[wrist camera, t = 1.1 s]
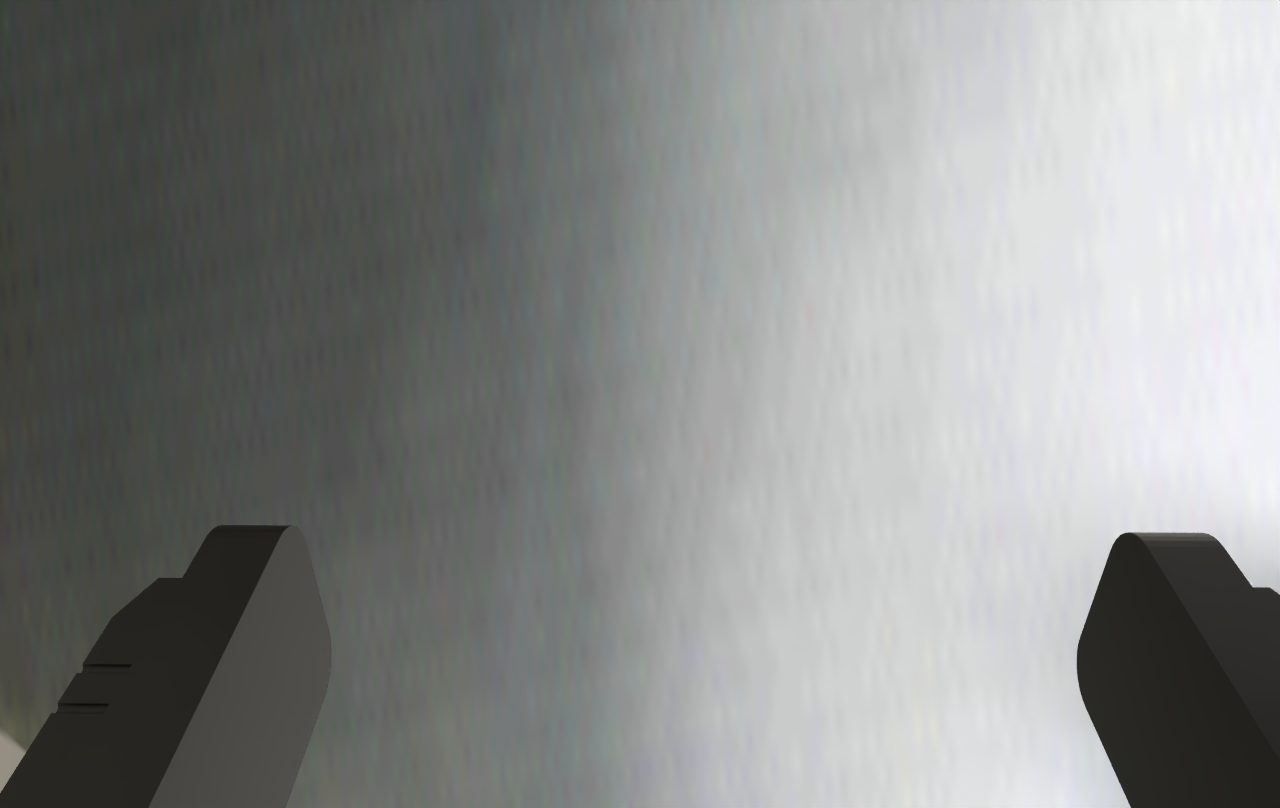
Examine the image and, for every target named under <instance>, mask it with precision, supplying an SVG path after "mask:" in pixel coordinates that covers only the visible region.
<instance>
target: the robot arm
mask: <svg viewBox="0 0 1280 808" xmlns="http://www.w3.org/2000/svg"><path fill="white" fill-rule="evenodd" d="M330 669H331V638H330V632H329V628H328V624H327V620H326V616H325V612H324V609H323V605H322V601H321V597H320V593H319V589H318V586H317V582H316V578H315V574H314V570H313V567H312V563H311V559H310V555H309V551H308V547H307V544H306V540H305V537H304V535H303V533H302V531H301V530H300V529H299V528H298V527H296V526H269V525H221V526H217V527H215V528H214V529H213V530H212V531H211V532H210V533H209V534H208V535H207V537H206V538H205V540H204V542H203V543H202V545H201V547H200V549H199V550H198V552H197V554H196V555H195V557H194V559H193V561H192V562H191V564H190V566H189V568H188V569H187V571H186V573H185V574H184V576H183V578H158V579H157V580H156V581H155V582H153V583H152V584H151V585H150V586H149V587H148V588H146V589H145V590H144V591H143V592H142V593H140V594H139V595H138V596H137V597H136V598H135V599H133V600H132V601H131V602H130V603H129V604H127V605H126V606H125V607H124V608H123V609H122V610H120V611H119V612H118V613H117V614H116V615H115V616H113V617H112V619H111V620H110V622H109V623H108V625H107V626H106V628H105V630H104V631H103V633H102V634H101V636H100V637H99V639H98V641H97V642H96V644H95V645H94V647H93V648H92V650H91V652H90V653H89V655H88V656H87V658H86V659H85V661H84V663H83V671H82V673H77V674H76V675H75V677H74V678H73V680H72V681H71V683H70V685H69V686H68V688H67V689H66V691H65V692H64V694H63V696H62V697H61V699H60V700H59V702H58V710H57V712H56V713H51V714H50V716H49V718H48V719H47V721H46V722H45V724H44V725H43V727H42V729H41V730H40V732H39V733H38V735H37V736H36V738H35V740H34V741H33V743H32V744H31V746H30V747H29V749H28V751H27V752H26V754H25V756H24V757H23V758H22V760H21V762H20V763H19V765H18V767H17V768H16V770H15V771H14V773H13V774H12V776H11V777H10V779H9V781H8V782H7V784H6V785H5V787H4V788H3V790H2V791H1V793H0V808H286V805H287V802H288V799H289V796H290V794H291V791H292V788H293V785H294V782H295V779H296V777H297V774H298V771H299V768H300V765H301V763H302V760H303V757H304V754H305V751H306V749H307V746H308V743H309V740H310V737H311V734H312V732H313V729H314V726H315V723H316V720H317V718H318V715H319V712H320V709H321V706H322V704H323V701H324V698H325V695H326V691H327V687H328V683H329V677H330ZM1077 675H1078V682H1079V687H1080V692H1081V695H1082V698H1083V702H1084V704H1085V707H1086V709H1087V711H1088V713H1089V716H1090V718H1091V720H1092V722H1093V724H1094V727H1095V729H1096V731H1097V733H1098V736H1099V738H1100V740H1101V742H1102V744H1103V747H1104V749H1105V751H1106V753H1107V755H1108V758H1109V760H1110V762H1111V764H1112V767H1113V769H1114V771H1115V773H1116V775H1117V778H1118V780H1119V782H1120V784H1121V787H1122V789H1123V791H1124V793H1125V795H1126V798H1127V800H1128V802H1129V804H1130V806H1131V808H1280V595H1279V594H1278V593H1276V592H1275V591H1274V590H1272V589H1271V588H1253V587H1252V586H1251V585H1250V583H1249V582H1248V580H1247V579H1246V578H1245V576H1244V575H1243V573H1242V572H1241V571H1240V569H1239V568H1238V566H1237V565H1236V564H1235V562H1234V561H1233V560H1232V558H1231V557H1230V555H1229V554H1228V553H1227V551H1226V550H1225V548H1224V547H1223V546H1222V545H1221V543H1220V542H1219V541H1218V540H1217V539H1215V538H1214V537H1213V536H1211V535H1209V534H1205V533H1124V534H1122V535H1120V536H1119V537H1118V538H1117V539H1116V541H1115V542H1114V544H1113V546H1112V548H1111V551H1110V554H1109V557H1108V559H1107V562H1106V565H1105V568H1104V571H1103V574H1102V577H1101V579H1100V582H1099V585H1098V588H1097V591H1096V594H1095V597H1094V599H1093V602H1092V605H1091V608H1090V611H1089V614H1088V617H1087V619H1086V622H1085V625H1084V628H1083V631H1082V634H1081V637H1080V640H1079V644H1078V650H1077Z"/></svg>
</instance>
